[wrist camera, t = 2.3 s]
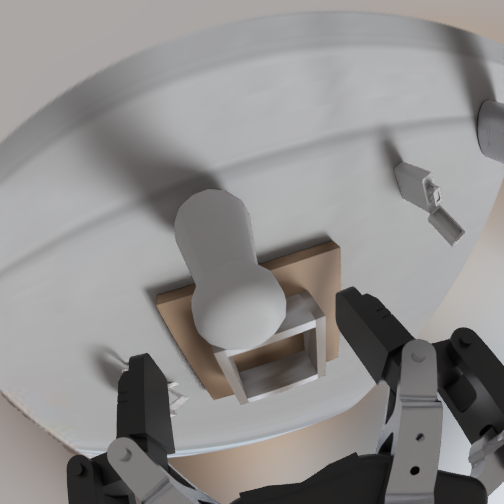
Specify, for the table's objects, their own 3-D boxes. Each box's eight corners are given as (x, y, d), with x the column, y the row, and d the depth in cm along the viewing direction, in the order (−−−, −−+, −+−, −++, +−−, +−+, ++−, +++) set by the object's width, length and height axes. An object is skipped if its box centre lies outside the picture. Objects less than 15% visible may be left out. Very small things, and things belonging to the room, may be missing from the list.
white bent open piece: (198, 392, 34) (204, 422, 29) (152, 408, 34) (154, 436, 29) (142, 345, 27) (141, 380, 23) (94, 367, 27) (89, 399, 23)
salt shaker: (160, 206, 21) (146, 316, 10) (221, 168, 21) (276, 238, 10) (199, 259, 24) (223, 382, 13) (255, 225, 24) (323, 329, 13)
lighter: (393, 168, 24) (450, 193, 18) (403, 160, 24) (461, 183, 18) (408, 218, 28) (456, 250, 21) (417, 210, 28) (466, 240, 21)
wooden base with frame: (333, 240, 27) (363, 268, 22) (333, 349, 36) (351, 377, 31) (156, 295, 25) (155, 336, 20) (211, 391, 34) (218, 424, 29)
